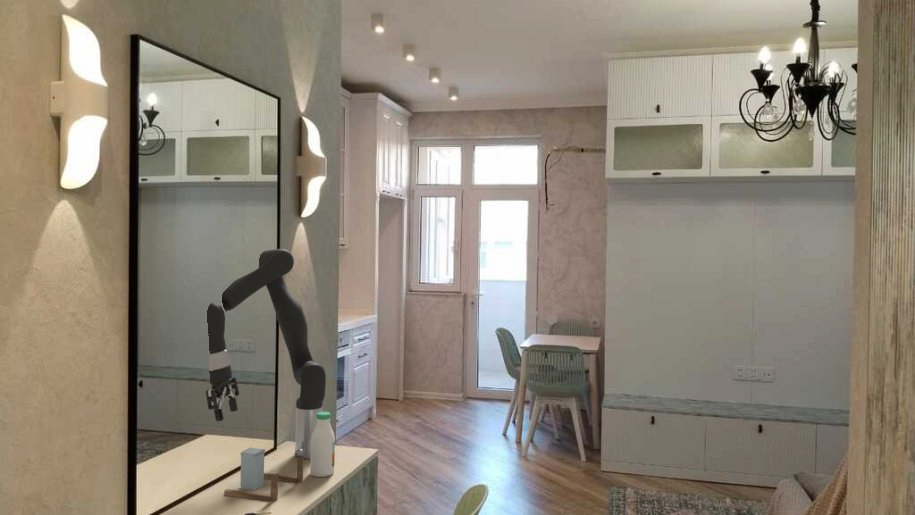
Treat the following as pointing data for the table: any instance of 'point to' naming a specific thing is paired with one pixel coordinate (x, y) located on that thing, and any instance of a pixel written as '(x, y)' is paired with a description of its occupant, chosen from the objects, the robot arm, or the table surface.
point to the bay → (274, 484)
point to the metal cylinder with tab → (300, 451)
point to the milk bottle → (322, 447)
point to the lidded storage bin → (252, 468)
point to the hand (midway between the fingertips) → (227, 415)
